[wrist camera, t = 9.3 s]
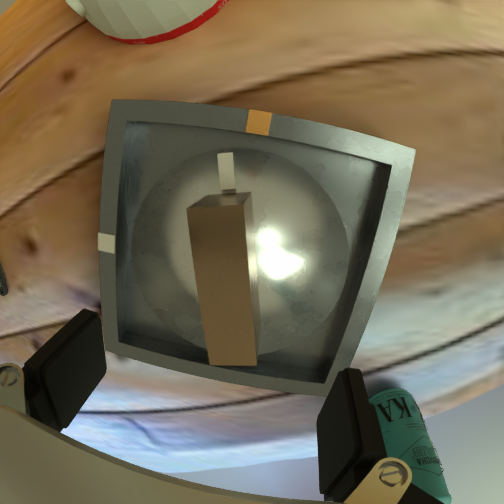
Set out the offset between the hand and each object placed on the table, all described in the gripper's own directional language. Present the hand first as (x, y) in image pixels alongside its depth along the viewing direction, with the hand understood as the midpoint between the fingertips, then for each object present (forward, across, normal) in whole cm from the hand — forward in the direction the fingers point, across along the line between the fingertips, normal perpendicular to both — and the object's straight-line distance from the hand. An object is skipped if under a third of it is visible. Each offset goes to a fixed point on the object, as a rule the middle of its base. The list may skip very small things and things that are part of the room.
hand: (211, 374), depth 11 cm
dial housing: (+15, +1, 0) cm, 15 cm away
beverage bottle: (+16, -17, +14) cm, 27 cm away
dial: (+13, +1, 0) cm, 13 cm away
